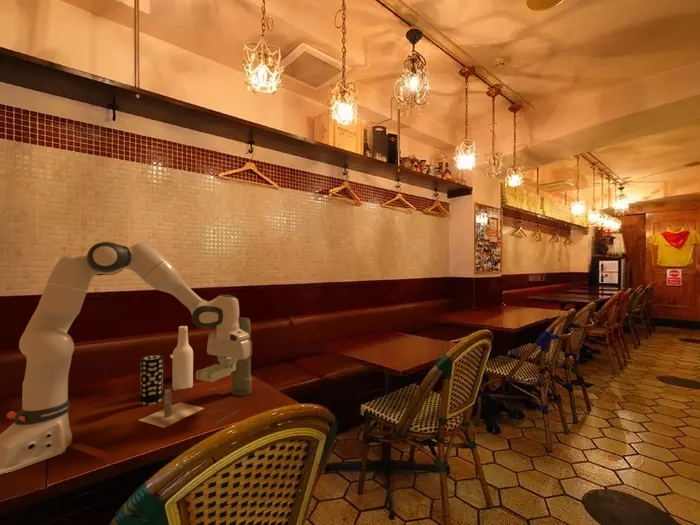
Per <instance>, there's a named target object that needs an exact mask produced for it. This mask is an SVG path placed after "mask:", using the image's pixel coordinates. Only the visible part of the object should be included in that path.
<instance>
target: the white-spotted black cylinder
mask: <svg viewBox="0 0 700 525" xmlns="http://www.w3.org/2000/svg"><path fill="white" fill-rule="evenodd" d="M139 380H140V381H139V382H140V387H139V388H140V389H139V390H140V391H139V392H140V393H139V394H140V395H139V396H140V398H139V405H143V406H149V405H157V404H159V403H160V402H162V401H164V400H163V399H164V396H163V395H164V393H163V390H164V355H161V354H154V355H153V354H152V355H146V356H142V357H141V358H140V379H139Z"/></svg>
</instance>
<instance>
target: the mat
mask: <svg viewBox="0 0 700 525" xmlns="http://www.w3.org/2000/svg"><path fill="white" fill-rule="evenodd" d="M237 412H238V410H237V409H236V410H234V411H231V413H228V414H227V415H225V416H223V417H221V418H220V419H218V420H216V421H214V422H212V424H213V425H216V424H218V423H220V422H222V421H223V420H225V419H226V418H229V417H230V416H232V415H234V414H236V413H237Z"/></svg>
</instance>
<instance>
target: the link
mask: <svg viewBox="0 0 700 525" xmlns="http://www.w3.org/2000/svg"><path fill="white" fill-rule="evenodd" d="M232 362H233V360H232V358H229V357H223V359H221V360H220V362H219V364H217V363H216V364H213V365H210V366H206V367H205V368H201V369H198V370H196V372H195V379H196V380H199V381H204V382H209V383H213V382H215V381H218V380H221V379H223V378H225V377H228V376H231V375H232V373H233V371H234V370H236V367H235V368H234V369H232V368H231V367H230V364H232Z"/></svg>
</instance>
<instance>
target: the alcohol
mask: <svg viewBox="0 0 700 525" xmlns="http://www.w3.org/2000/svg"><path fill="white" fill-rule="evenodd" d="M188 332H189V331H188V326H187V325H180V326H178V336H177V345H176V346H175V348H174V349H173V351H172V355H173V365H172V373H171V374H172V381H171V382H172V388H171V389H172V391H173V392H176V391H178V390H185V389H188V388H191V389H192V388H193V386H194V351H193V348H192V347H191V345H190V344H189V335H188V334H189V333H188Z"/></svg>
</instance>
